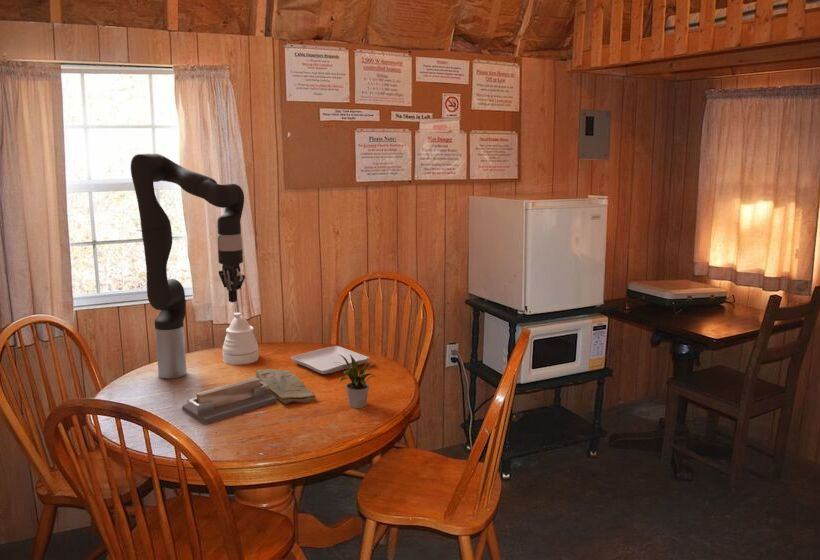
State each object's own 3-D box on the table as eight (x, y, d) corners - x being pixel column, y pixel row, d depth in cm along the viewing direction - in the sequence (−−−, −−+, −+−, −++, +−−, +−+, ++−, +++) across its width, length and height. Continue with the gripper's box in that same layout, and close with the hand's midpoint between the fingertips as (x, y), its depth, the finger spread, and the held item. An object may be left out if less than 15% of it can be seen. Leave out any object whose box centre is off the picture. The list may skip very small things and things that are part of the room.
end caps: (188, 409, 196) (187, 399, 195) (258, 389, 212) (258, 380, 212) (197, 415, 192) (197, 405, 191) (269, 394, 208) (268, 385, 208)
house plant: (320, 407, 202) (319, 355, 199) (348, 393, 214) (347, 344, 210) (358, 417, 195) (358, 364, 191) (385, 402, 206) (384, 351, 203)
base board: (182, 410, 199) (181, 405, 199) (252, 390, 216) (252, 385, 215) (204, 424, 189) (204, 419, 189) (276, 402, 206) (276, 397, 205)
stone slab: (285, 364, 233) (317, 388, 207) (285, 375, 233) (318, 401, 208) (250, 369, 227) (279, 395, 201) (250, 381, 227) (280, 408, 202)
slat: (197, 409, 196) (196, 393, 195) (256, 392, 210) (255, 377, 209) (201, 411, 194) (200, 395, 193) (260, 394, 208) (259, 379, 207)
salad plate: (289, 364, 242) (288, 355, 241) (336, 352, 256) (336, 344, 255) (322, 380, 226) (322, 370, 226) (371, 366, 240) (371, 357, 240)
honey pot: (254, 364, 240) (251, 316, 237) (218, 364, 241) (216, 316, 237) (262, 353, 253) (260, 308, 249) (228, 353, 253) (226, 307, 250)
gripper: (251, 249, 207) (254, 303, 210) (230, 244, 216) (232, 296, 220) (230, 251, 202) (232, 307, 205) (209, 247, 211) (212, 299, 215)
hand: (232, 301), depth 212 cm, fingers closed
